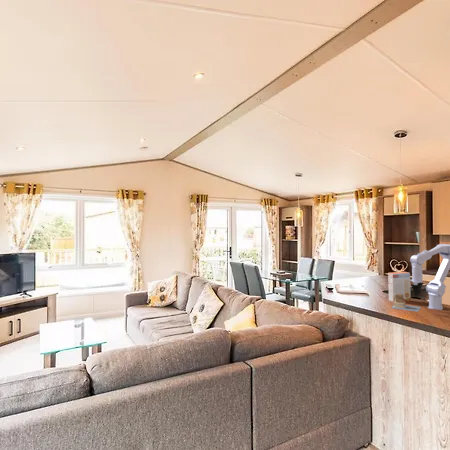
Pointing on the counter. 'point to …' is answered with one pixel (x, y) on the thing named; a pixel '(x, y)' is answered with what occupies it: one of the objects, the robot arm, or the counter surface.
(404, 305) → the beech slab
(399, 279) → the cracker box
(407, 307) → the building mat
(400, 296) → the walnut block
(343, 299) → the counter surface
